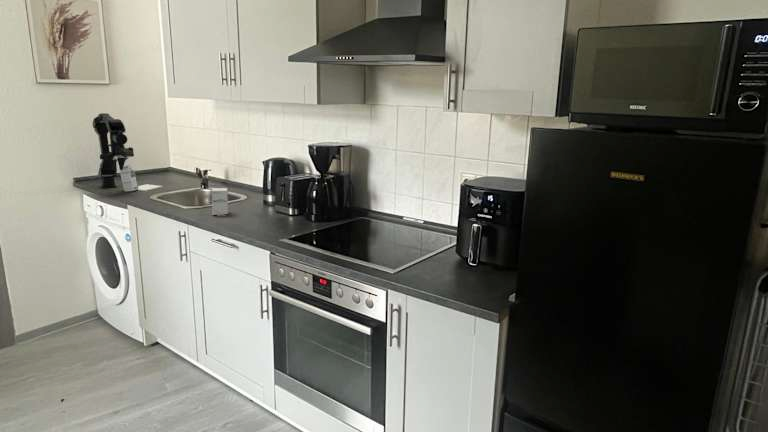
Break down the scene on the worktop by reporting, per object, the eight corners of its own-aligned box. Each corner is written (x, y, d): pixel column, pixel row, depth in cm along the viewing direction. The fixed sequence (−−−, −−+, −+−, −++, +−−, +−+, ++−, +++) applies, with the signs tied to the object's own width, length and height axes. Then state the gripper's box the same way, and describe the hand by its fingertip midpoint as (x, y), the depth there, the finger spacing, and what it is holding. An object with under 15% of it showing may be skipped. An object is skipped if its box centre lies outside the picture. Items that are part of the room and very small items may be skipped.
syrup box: (134, 190, 296) (128, 165, 293) (124, 191, 296) (118, 166, 293) (138, 188, 302) (133, 164, 298) (129, 189, 302) (123, 165, 299)
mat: (128, 188, 304) (128, 188, 304) (146, 184, 318) (146, 184, 318) (144, 190, 301) (144, 190, 301) (162, 186, 315) (162, 186, 315)
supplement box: (212, 216, 251) (211, 190, 248) (212, 212, 258) (211, 187, 255) (228, 215, 253) (227, 190, 250) (228, 212, 260) (227, 187, 257)
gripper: (114, 145, 274) (116, 174, 277) (140, 142, 291) (142, 169, 295) (97, 143, 277) (100, 172, 281) (124, 140, 294) (126, 168, 298)
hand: (118, 170), depth 288 cm, fingers open, 4 cm apart
